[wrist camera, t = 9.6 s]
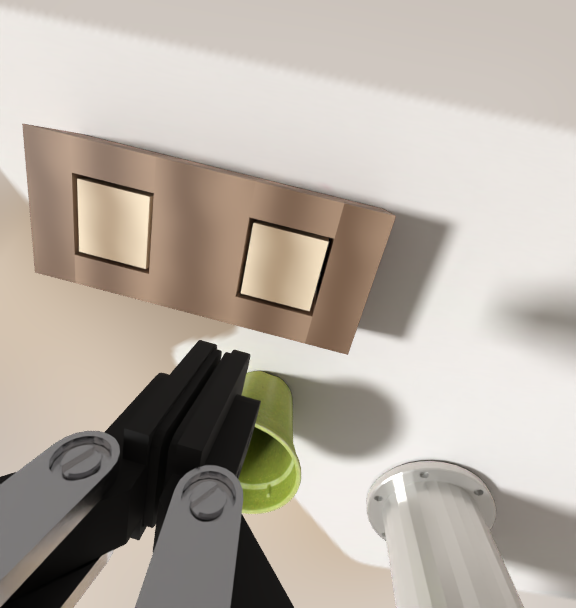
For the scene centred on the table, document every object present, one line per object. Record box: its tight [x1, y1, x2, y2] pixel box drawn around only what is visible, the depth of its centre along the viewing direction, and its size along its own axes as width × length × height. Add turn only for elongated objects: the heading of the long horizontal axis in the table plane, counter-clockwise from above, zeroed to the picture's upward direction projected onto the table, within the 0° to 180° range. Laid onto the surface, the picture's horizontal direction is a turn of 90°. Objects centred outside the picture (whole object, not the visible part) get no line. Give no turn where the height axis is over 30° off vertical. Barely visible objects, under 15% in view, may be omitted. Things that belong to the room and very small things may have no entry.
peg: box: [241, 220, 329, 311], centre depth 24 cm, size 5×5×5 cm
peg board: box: [22, 124, 396, 355], centre depth 24 cm, size 24×10×5 cm, turn 77°
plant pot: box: [238, 371, 301, 514], centre depth 28 cm, size 9×9×9 cm
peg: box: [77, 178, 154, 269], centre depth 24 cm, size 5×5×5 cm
